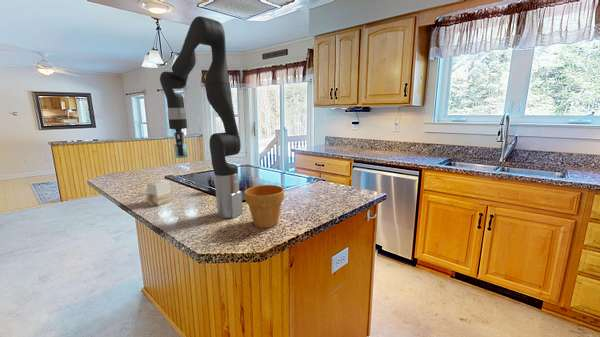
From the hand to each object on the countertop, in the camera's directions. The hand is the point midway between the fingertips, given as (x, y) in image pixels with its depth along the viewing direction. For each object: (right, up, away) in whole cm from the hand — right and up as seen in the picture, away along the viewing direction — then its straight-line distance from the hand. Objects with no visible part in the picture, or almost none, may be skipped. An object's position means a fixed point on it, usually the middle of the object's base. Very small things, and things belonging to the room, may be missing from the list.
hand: (181, 154), depth 131 cm
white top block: (-10, -18, -1) cm, 20 cm away
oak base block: (-10, -23, 0) cm, 25 cm away
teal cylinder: (0, -1, 0) cm, 1 cm away
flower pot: (+43, -27, -26) cm, 57 cm away
